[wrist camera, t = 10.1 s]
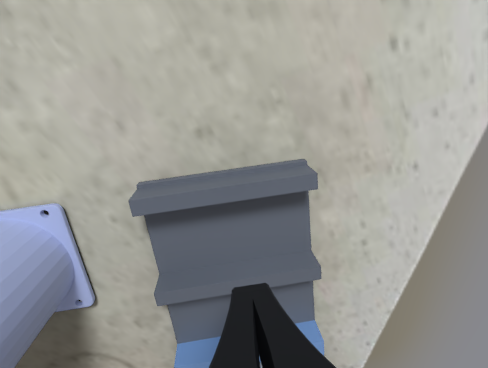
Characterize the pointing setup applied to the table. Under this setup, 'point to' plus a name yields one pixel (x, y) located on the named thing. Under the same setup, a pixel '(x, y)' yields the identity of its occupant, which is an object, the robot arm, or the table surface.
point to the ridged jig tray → (230, 248)
